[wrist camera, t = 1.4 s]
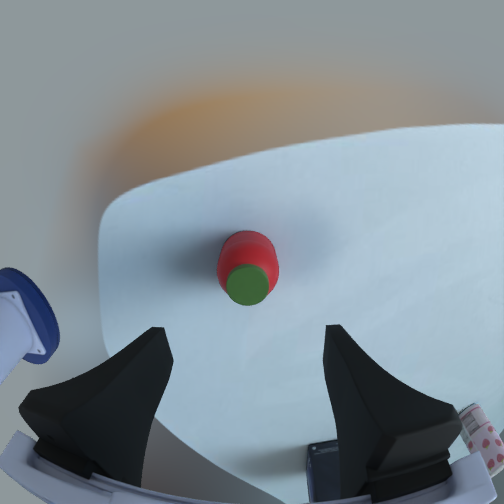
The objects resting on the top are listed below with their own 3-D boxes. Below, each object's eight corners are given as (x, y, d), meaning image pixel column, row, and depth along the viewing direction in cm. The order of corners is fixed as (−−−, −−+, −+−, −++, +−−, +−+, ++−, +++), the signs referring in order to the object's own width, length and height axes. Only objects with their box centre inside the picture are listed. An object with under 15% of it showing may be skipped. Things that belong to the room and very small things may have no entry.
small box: (305, 444, 31) (315, 508, 21) (352, 435, 31) (369, 496, 21) (304, 472, 34) (310, 525, 24) (343, 465, 34) (354, 516, 24)
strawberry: (225, 284, 22) (219, 320, 18) (216, 234, 21) (206, 259, 16) (278, 278, 22) (285, 312, 18) (272, 227, 21) (279, 249, 16)
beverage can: (468, 419, 33) (498, 473, 19) (448, 427, 33) (478, 486, 19) (483, 399, 31) (518, 454, 17) (463, 407, 31) (498, 468, 17)
